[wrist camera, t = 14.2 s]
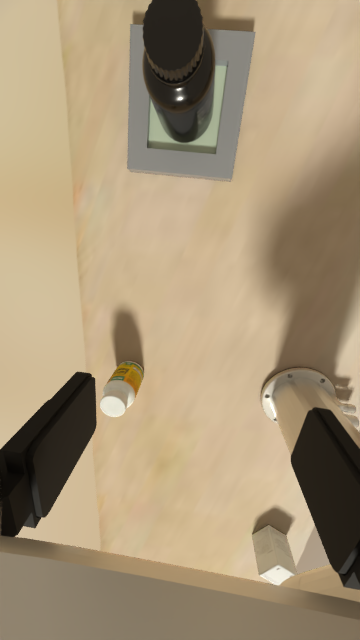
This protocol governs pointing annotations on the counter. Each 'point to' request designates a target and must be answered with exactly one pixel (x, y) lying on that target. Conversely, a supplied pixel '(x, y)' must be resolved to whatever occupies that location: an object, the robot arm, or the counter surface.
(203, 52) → the supplement bottle
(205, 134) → the picture frame
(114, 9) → the counter surface
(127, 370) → the supplement bottle
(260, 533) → the skincare box
